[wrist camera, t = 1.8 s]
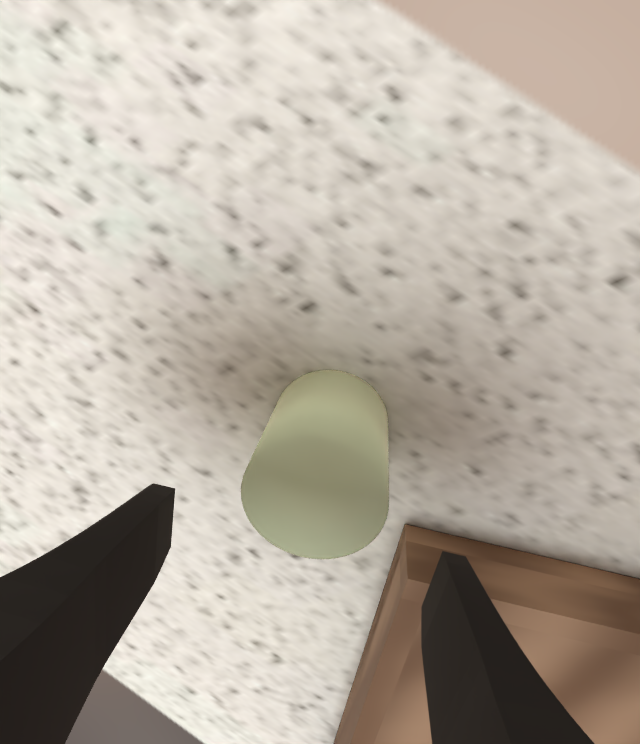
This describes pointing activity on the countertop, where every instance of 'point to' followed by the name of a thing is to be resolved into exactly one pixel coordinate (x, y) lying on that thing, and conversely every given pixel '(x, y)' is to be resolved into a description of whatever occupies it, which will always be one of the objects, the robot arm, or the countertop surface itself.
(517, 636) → the serving tray
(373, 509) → the cucumber chunk
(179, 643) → the countertop surface
